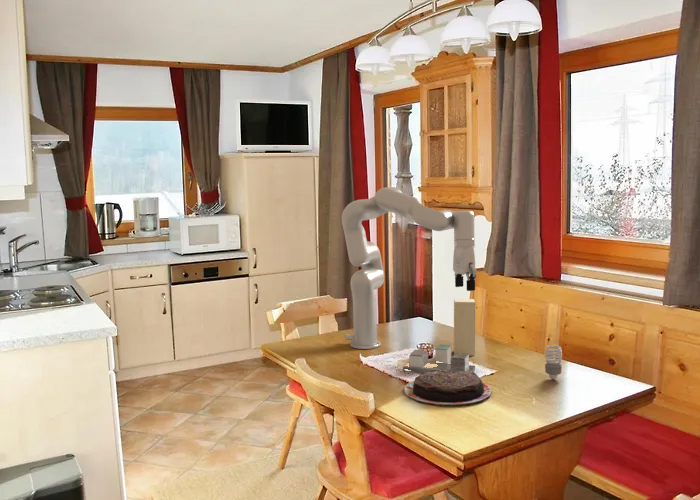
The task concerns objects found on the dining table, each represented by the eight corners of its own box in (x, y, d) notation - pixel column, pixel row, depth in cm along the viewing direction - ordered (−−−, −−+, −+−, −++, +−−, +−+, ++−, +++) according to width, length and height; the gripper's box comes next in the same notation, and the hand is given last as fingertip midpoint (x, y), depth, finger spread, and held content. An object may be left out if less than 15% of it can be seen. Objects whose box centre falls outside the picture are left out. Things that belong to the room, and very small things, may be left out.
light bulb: (562, 377, 226) (562, 343, 224) (561, 382, 220) (562, 347, 219) (544, 376, 227) (545, 342, 226) (544, 381, 222) (544, 346, 221)
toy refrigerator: (473, 350, 262) (473, 298, 259) (475, 355, 255) (475, 302, 252) (453, 350, 263) (453, 298, 260) (454, 355, 255) (454, 302, 253)
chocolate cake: (401, 380, 228) (401, 361, 227) (483, 379, 227) (483, 360, 226) (406, 409, 200) (406, 388, 200) (499, 408, 199) (499, 387, 199)
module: (435, 364, 245) (435, 348, 245) (439, 359, 251) (439, 344, 251) (447, 365, 244) (447, 349, 243) (451, 360, 250) (451, 345, 249)
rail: (403, 371, 237) (403, 354, 236) (410, 364, 245) (410, 348, 245) (470, 377, 228) (470, 360, 228) (475, 369, 237) (475, 353, 236)
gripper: (445, 242, 256) (446, 286, 258) (465, 246, 239) (466, 293, 241) (463, 241, 258) (463, 284, 260) (484, 245, 241) (484, 291, 243)
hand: (465, 288), depth 251 cm, fingers open, 9 cm apart
